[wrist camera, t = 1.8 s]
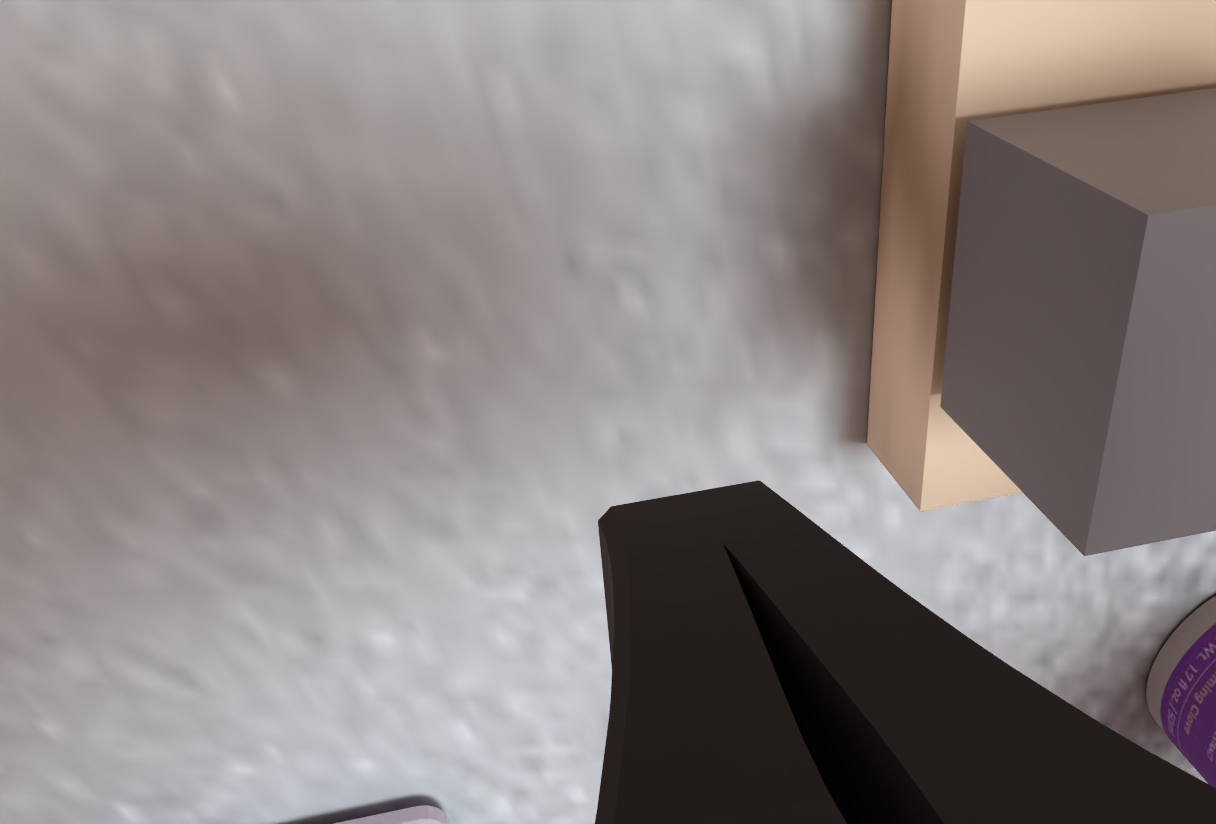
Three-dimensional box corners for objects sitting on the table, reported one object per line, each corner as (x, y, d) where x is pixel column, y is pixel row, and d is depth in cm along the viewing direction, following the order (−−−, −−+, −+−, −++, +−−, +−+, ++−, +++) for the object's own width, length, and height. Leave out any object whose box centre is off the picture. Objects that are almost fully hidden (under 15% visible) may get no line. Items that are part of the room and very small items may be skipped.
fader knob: (1198, 365, 16) (1404, 503, 13) (939, 409, 15) (1088, 564, 12) (1263, 77, 14) (1531, 156, 10) (968, 116, 13) (1155, 213, 10)
